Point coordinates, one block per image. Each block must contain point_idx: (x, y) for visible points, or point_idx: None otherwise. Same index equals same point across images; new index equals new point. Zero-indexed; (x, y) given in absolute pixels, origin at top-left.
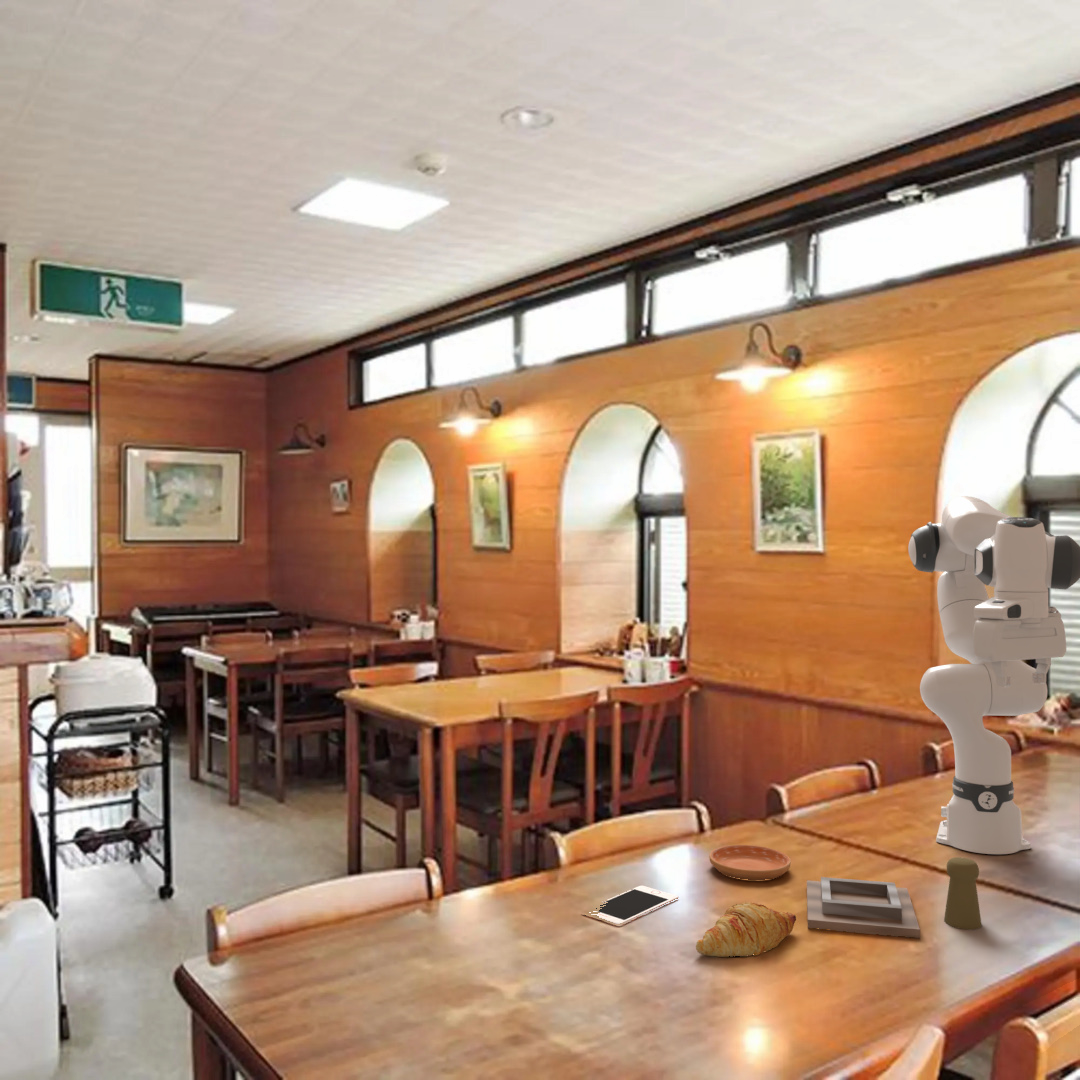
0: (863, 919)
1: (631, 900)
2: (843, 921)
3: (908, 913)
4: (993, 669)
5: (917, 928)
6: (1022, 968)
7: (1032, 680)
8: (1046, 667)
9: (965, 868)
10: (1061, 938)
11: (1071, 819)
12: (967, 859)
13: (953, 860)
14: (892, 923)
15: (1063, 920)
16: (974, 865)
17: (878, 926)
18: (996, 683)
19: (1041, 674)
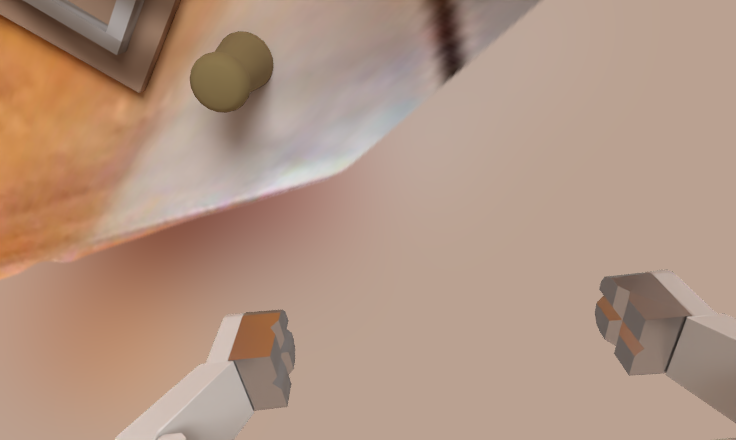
0: (60, 24)
1: None
2: (20, 20)
3: (151, 29)
4: (147, 418)
5: (137, 88)
6: (230, 203)
7: (613, 279)
8: (727, 416)
9: (208, 108)
10: (344, 155)
11: None
12: (223, 92)
13: (197, 81)
14: (104, 58)
15: (400, 108)
16: (228, 109)
17: (78, 57)
18: (223, 318)
19: (634, 372)
